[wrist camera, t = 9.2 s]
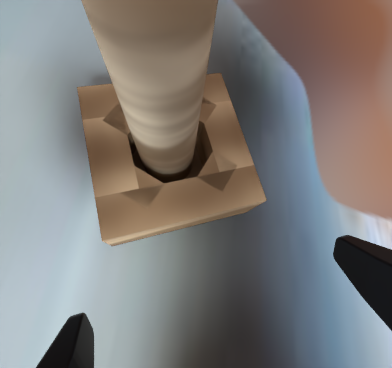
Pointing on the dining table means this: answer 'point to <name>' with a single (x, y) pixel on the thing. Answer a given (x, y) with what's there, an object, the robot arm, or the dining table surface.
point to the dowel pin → (157, 73)
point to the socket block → (173, 191)
